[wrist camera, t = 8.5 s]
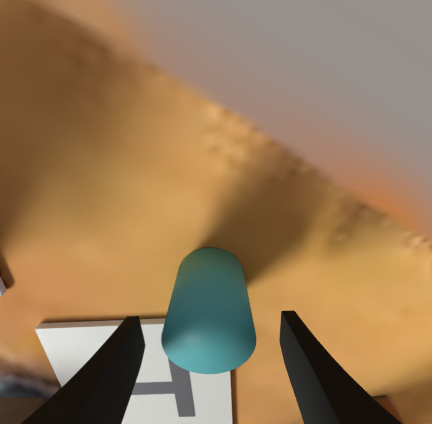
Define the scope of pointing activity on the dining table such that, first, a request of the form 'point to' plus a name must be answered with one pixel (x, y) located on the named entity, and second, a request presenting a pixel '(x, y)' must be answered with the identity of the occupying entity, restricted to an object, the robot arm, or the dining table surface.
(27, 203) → the dining table surface
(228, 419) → the letter mat
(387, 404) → the pancake mix bag
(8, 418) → the walnut block
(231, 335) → the teal rounded cylinder
